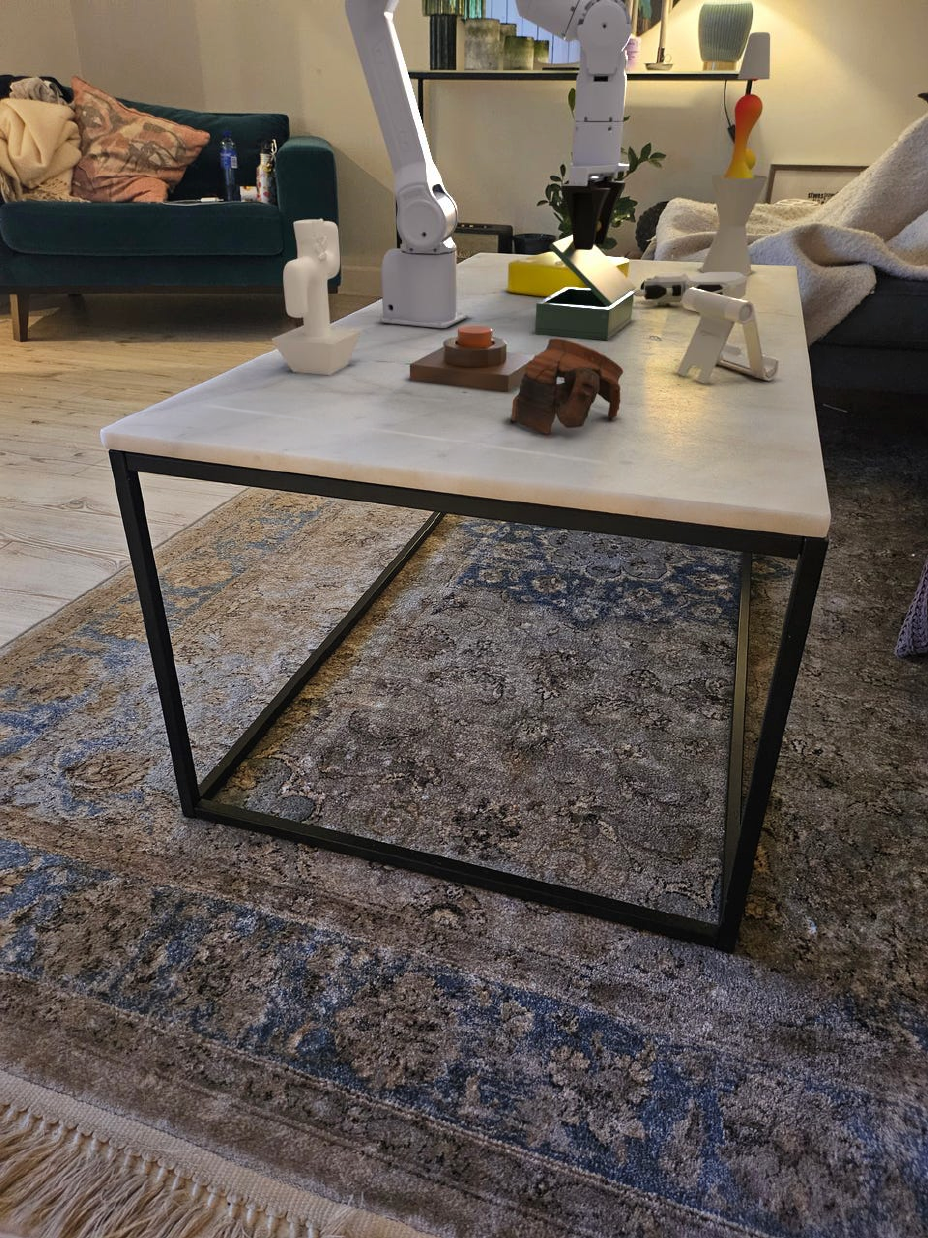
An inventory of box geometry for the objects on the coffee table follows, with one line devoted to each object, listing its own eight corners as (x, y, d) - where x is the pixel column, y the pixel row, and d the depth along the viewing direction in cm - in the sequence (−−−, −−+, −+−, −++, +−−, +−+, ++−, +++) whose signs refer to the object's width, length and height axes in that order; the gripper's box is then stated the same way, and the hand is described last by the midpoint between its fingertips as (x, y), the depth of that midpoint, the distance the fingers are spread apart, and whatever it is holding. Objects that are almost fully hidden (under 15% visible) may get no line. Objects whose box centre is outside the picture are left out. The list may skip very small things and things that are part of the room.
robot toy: (629, 315, 125) (737, 316, 120) (629, 281, 123) (740, 280, 117) (649, 300, 135) (750, 300, 129) (650, 268, 133) (753, 267, 127)
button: (452, 348, 91) (452, 331, 90) (465, 341, 94) (465, 324, 93) (484, 351, 90) (484, 334, 89) (496, 344, 93) (497, 327, 92)
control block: (409, 380, 92) (408, 346, 90) (444, 360, 99) (444, 328, 97) (507, 392, 88) (508, 357, 87) (536, 371, 95) (538, 338, 94)
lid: (548, 247, 106) (570, 219, 103) (578, 235, 116) (599, 209, 113) (608, 307, 106) (631, 281, 104) (632, 291, 116) (654, 266, 114)
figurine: (269, 376, 93) (252, 222, 86) (311, 355, 101) (299, 212, 93) (330, 382, 91) (318, 225, 84) (368, 361, 99) (361, 215, 91)
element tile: (631, 287, 140) (634, 255, 138) (590, 302, 129) (593, 267, 127) (547, 278, 147) (549, 247, 144) (502, 292, 136) (503, 259, 134)
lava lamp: (743, 277, 149) (781, 29, 131) (692, 272, 153) (722, 31, 136) (759, 270, 155) (797, 33, 138) (709, 265, 160) (740, 35, 142)
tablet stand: (775, 380, 93) (791, 297, 88) (717, 389, 90) (730, 303, 85) (721, 361, 99) (732, 283, 95) (665, 369, 96) (674, 289, 92)
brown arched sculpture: (492, 415, 83) (528, 332, 82) (577, 455, 86) (613, 376, 84) (527, 421, 72) (569, 325, 70) (624, 467, 74) (666, 375, 73)
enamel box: (534, 333, 111) (536, 303, 109) (564, 315, 121) (565, 286, 119) (607, 340, 108) (609, 309, 106) (631, 321, 118) (634, 292, 116)
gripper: (616, 122, 96) (605, 256, 103) (646, 121, 107) (634, 241, 114) (554, 122, 98) (548, 252, 105) (590, 120, 110) (582, 238, 117)
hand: (589, 246), depth 110 cm, fingers closed on lid, 5 cm apart
